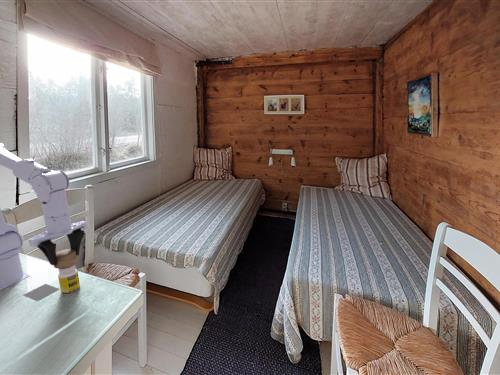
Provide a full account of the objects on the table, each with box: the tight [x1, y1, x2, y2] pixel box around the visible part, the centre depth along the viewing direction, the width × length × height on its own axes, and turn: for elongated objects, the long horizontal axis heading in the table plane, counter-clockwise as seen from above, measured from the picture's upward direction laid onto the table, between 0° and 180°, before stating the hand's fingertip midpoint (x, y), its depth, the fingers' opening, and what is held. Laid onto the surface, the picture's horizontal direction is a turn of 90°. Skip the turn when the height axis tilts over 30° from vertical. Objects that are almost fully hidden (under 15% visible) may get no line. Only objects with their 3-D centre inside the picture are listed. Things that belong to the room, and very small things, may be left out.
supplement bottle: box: [57, 263, 81, 296], centre depth 78 cm, size 5×5×8 cm
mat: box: [23, 283, 60, 302], centre depth 78 cm, size 7×6×1 cm
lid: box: [53, 248, 78, 269], centre depth 76 cm, size 6×6×3 cm
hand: (65, 259), depth 76 cm, fingers closed on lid, 6 cm apart
